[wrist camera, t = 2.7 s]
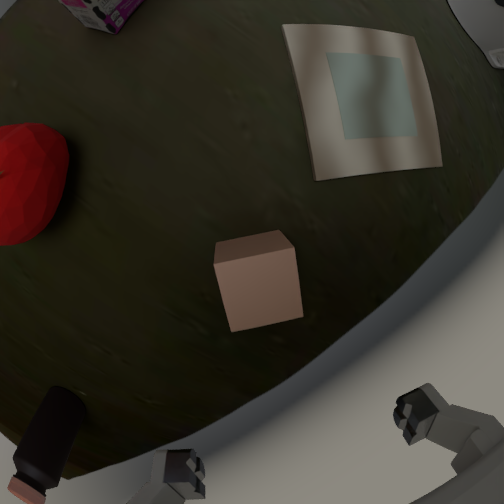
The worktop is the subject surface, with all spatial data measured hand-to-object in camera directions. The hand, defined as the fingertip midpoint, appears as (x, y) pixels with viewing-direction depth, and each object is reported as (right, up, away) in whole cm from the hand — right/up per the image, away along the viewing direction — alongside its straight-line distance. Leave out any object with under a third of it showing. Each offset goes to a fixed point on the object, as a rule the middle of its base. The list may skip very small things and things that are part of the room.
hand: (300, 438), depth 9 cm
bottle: (-30, -16, +22) cm, 40 cm away
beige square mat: (+10, +23, +14) cm, 29 cm away
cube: (-2, +6, +18) cm, 19 cm away
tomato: (-24, +15, +13) cm, 31 cm away
